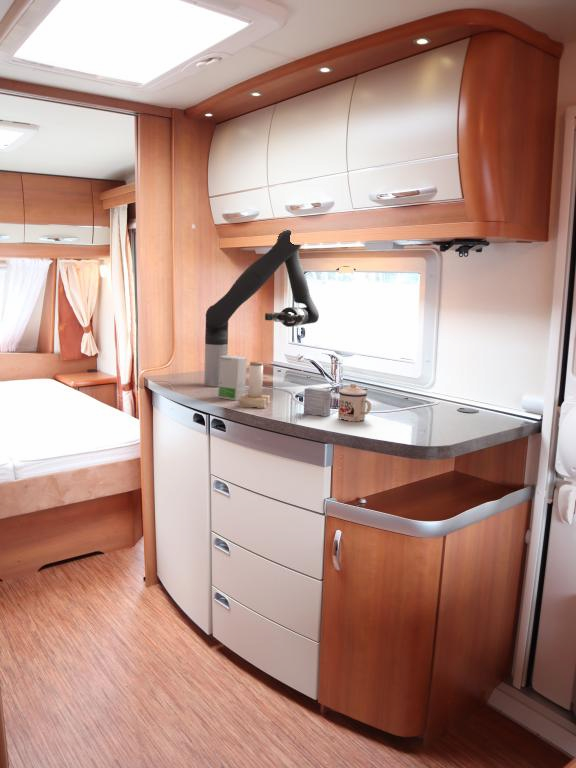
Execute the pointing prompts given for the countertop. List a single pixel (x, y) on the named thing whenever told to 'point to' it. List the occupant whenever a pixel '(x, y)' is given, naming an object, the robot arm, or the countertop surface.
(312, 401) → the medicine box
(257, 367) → the spice jar
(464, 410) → the countertop surface
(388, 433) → the countertop surface
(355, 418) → the teacup with lid
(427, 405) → the countertop surface
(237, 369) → the skincare box
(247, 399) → the plinth
